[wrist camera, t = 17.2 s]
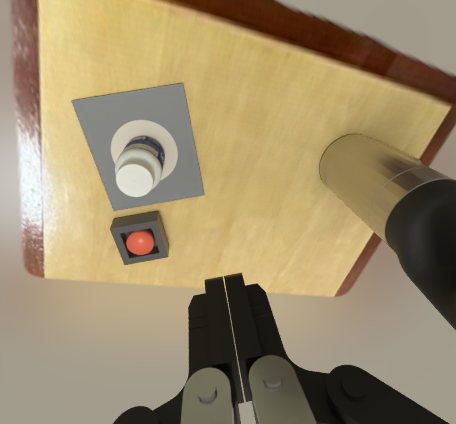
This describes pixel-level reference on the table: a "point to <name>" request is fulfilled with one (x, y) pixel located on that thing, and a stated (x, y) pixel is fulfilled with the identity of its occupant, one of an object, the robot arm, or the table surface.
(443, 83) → the table surface
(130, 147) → the pill bottle
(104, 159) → the grey mat
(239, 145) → the table surface
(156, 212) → the button housing
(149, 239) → the button
